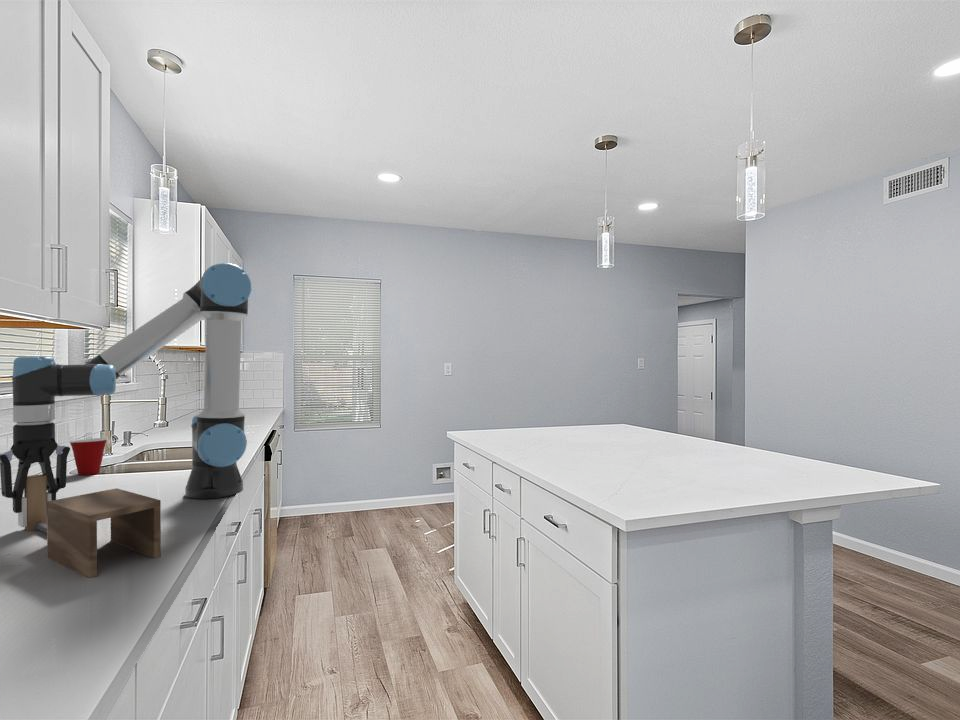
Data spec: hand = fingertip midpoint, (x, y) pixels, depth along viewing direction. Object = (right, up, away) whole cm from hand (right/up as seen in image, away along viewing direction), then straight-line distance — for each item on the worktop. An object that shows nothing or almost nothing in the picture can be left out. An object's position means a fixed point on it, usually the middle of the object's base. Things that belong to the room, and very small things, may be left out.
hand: (35, 522), depth 125 cm
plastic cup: (-29, -1, +57) cm, 64 cm away
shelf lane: (+29, -1, -18) cm, 34 cm away
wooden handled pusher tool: (+9, -1, -6) cm, 10 cm away
